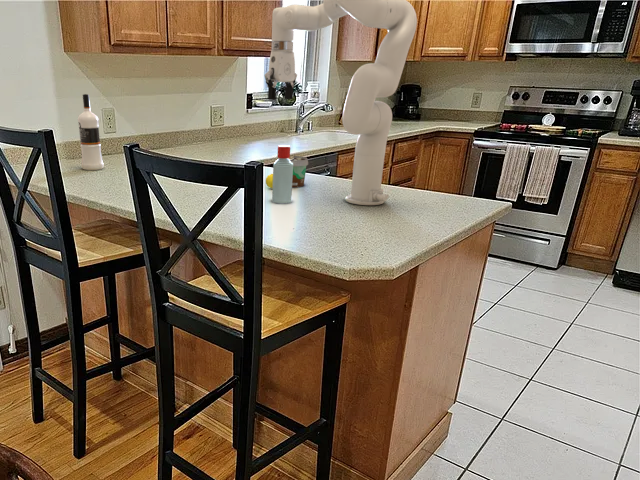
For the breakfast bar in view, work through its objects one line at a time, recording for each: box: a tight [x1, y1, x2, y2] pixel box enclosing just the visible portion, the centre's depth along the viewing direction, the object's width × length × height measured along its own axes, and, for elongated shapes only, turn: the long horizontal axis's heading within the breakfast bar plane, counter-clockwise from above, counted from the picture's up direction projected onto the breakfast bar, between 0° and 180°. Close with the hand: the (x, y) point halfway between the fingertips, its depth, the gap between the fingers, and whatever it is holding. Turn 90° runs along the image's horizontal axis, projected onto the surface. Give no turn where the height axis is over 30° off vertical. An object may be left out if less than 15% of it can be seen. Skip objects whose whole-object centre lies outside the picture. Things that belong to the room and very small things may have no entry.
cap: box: [277, 144, 291, 159], centre depth 168 cm, size 4×4×4 cm
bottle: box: [271, 157, 293, 205], centre depth 171 cm, size 6×6×18 cm
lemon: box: [265, 173, 273, 189], centre depth 192 cm, size 7×5×5 cm
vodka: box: [77, 93, 105, 171], centre depth 220 cm, size 9×9×30 cm
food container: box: [289, 155, 309, 188], centre depth 197 cm, size 12×6×10 cm, turn 168°
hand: (280, 99), depth 192 cm, fingers open, 9 cm apart
